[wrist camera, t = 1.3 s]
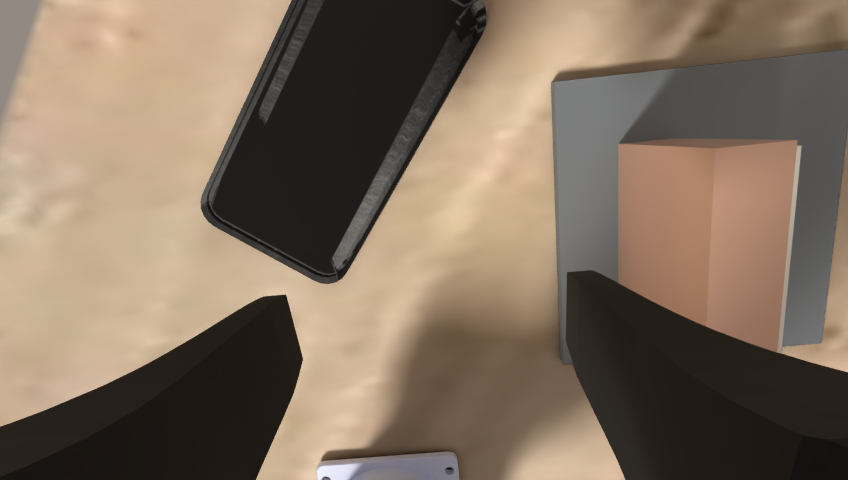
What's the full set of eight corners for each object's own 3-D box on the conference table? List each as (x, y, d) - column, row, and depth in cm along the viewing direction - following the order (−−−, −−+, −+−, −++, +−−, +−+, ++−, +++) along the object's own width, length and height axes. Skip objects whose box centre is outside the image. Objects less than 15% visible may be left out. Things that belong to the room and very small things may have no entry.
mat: (811, 337, 23) (821, 343, 22) (560, 359, 23) (563, 364, 23) (844, 50, 19) (857, 48, 19) (550, 83, 20) (554, 81, 19)
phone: (497, 8, 19) (335, 292, 22) (493, 15, 20) (339, 284, 23) (334, -99, 18) (190, 213, 21) (339, -85, 19) (202, 209, 22)
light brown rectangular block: (673, 301, 22) (783, 378, 15) (618, 306, 22) (702, 384, 15) (678, 137, 20) (808, 138, 13) (618, 143, 20) (715, 148, 13)
